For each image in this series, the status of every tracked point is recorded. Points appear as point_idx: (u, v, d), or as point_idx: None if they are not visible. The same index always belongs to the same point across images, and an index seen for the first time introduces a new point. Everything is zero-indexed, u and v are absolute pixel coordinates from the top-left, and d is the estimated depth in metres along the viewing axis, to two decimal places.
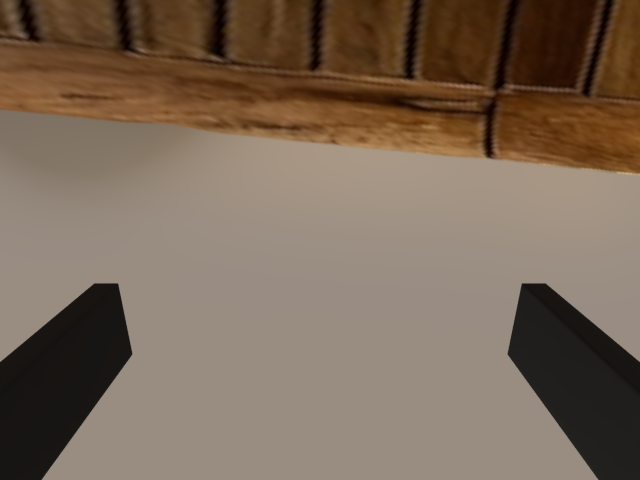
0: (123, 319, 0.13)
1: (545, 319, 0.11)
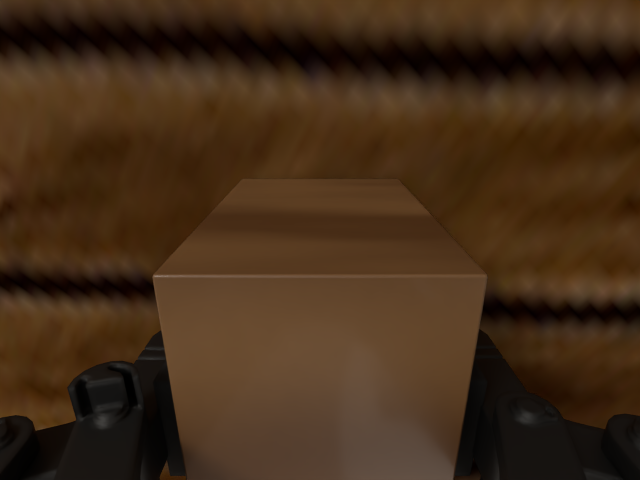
0: None
1: None
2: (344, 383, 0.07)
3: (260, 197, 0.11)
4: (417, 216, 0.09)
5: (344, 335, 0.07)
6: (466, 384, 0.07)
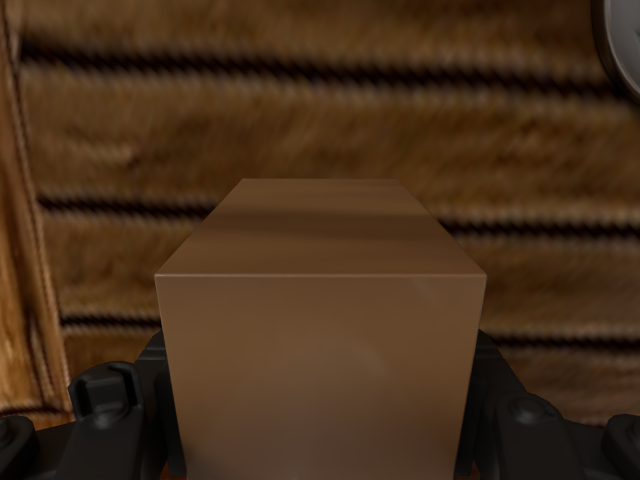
0: None
1: None
2: (344, 382, 0.07)
3: (261, 197, 0.11)
4: (417, 216, 0.09)
5: (344, 334, 0.07)
6: (466, 383, 0.07)
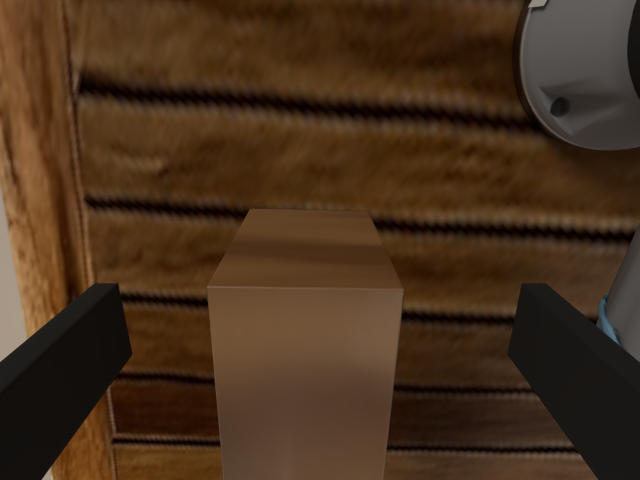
0: (123, 319, 0.13)
1: (545, 319, 0.11)
2: (320, 353, 0.12)
3: (265, 227, 0.15)
4: (373, 246, 0.14)
5: (320, 324, 0.11)
6: (394, 355, 0.12)
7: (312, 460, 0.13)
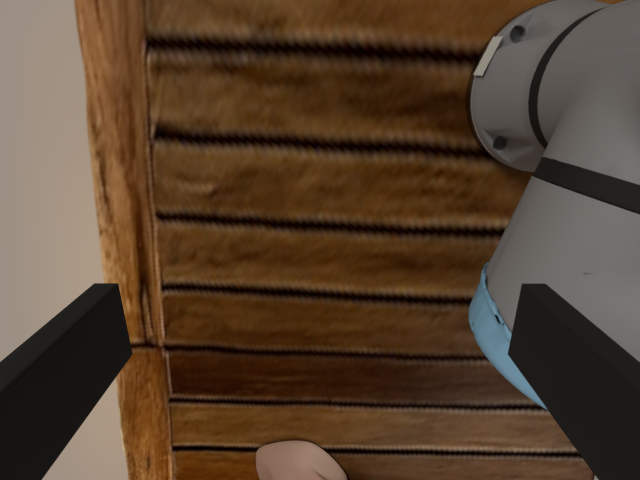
0: (123, 319, 0.13)
1: (544, 319, 0.11)
2: None
3: None
4: None
5: None
6: None
7: None
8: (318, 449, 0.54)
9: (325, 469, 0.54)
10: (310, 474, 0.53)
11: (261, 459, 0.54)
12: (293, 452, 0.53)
